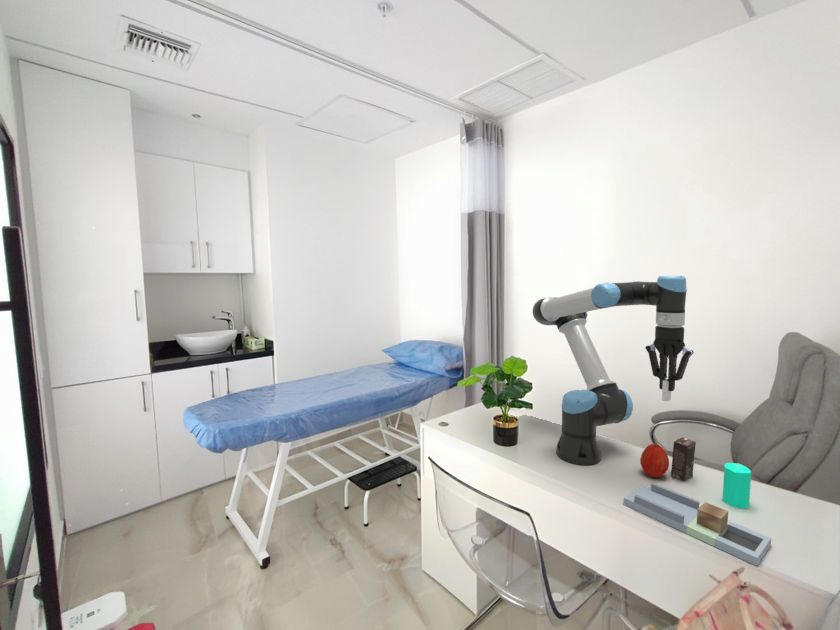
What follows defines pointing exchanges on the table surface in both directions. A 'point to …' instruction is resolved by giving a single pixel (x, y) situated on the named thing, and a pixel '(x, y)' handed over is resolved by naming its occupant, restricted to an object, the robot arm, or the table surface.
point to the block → (712, 517)
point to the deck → (684, 518)
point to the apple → (654, 461)
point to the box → (683, 459)
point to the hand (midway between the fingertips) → (666, 400)
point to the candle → (736, 485)
